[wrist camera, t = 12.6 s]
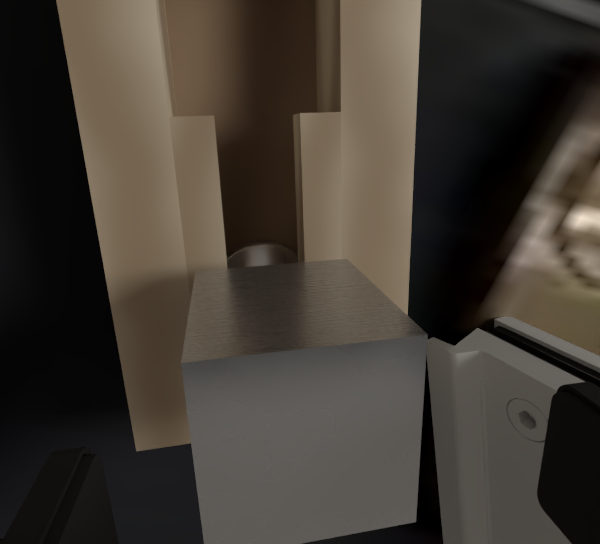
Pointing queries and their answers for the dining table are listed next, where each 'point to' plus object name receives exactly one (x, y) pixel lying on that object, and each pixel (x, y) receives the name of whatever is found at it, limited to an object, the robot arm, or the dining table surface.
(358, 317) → the stud
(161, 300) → the keyhole plate
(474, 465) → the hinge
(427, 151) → the dining table surface
